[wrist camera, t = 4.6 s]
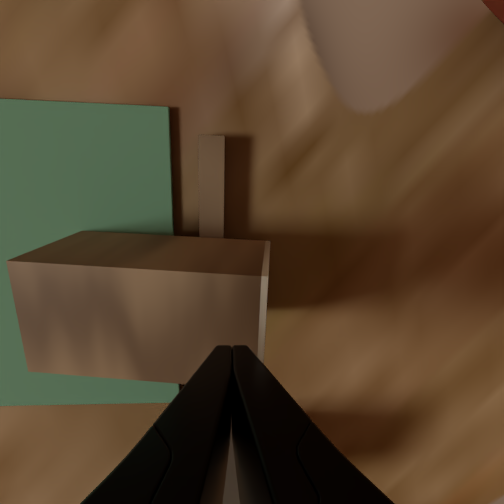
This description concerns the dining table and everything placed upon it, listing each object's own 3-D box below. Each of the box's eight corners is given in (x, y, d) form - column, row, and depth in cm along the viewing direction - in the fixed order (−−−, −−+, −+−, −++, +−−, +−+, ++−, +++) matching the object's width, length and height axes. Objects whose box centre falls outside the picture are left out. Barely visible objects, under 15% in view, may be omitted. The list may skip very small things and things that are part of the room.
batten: (222, 381, 17) (221, 395, 16) (202, 381, 17) (201, 395, 16) (224, 136, 13) (224, 135, 12) (200, 135, 13) (198, 134, 12)
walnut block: (262, 390, 11) (28, 371, 11) (265, 327, 14) (92, 315, 15) (268, 276, 9) (5, 260, 10) (270, 241, 13) (81, 230, 14)
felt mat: (179, 398, 17) (179, 402, 17) (-66, 402, 16) (-71, 407, 16) (169, 107, 13) (168, 106, 12) (-163, 91, 12) (-173, 90, 12)
